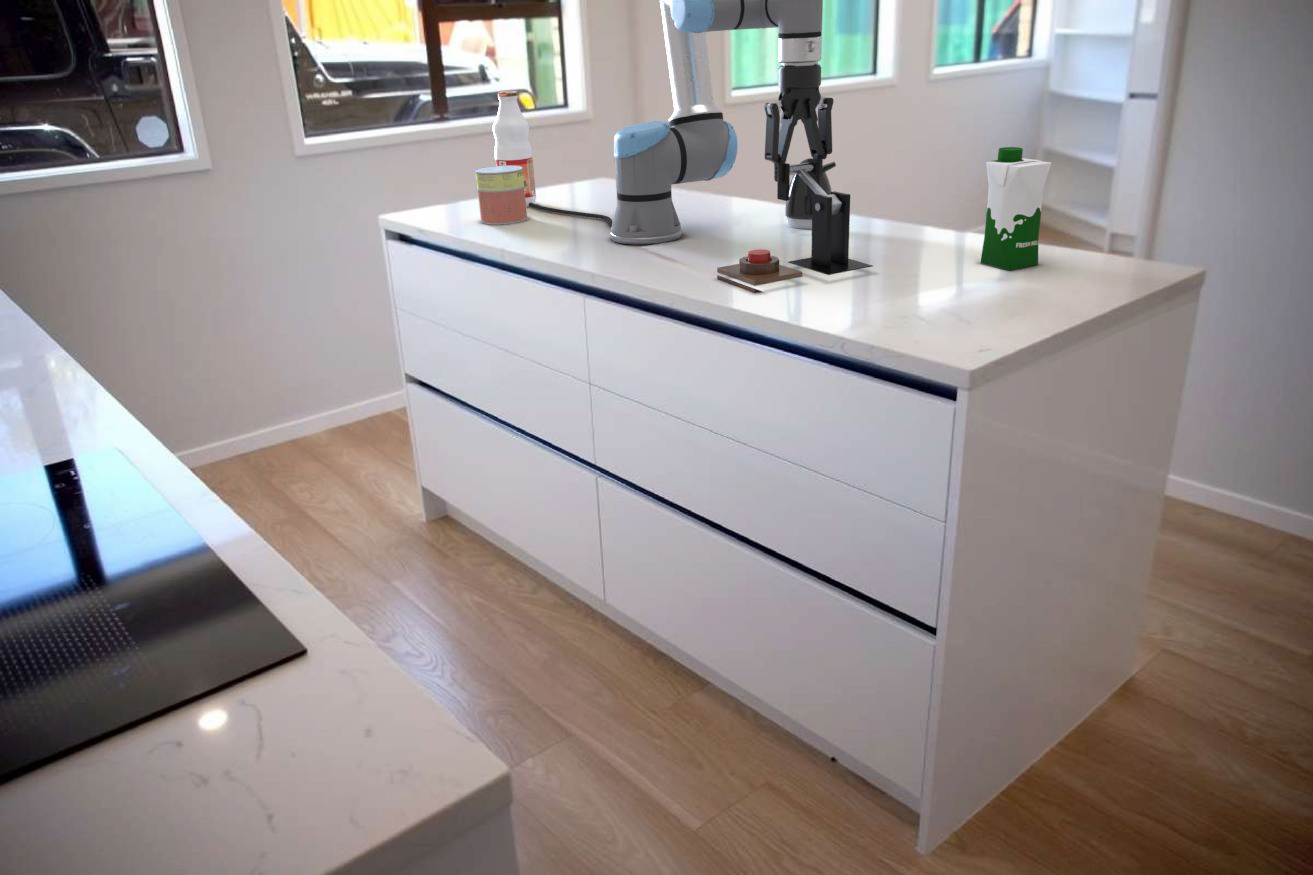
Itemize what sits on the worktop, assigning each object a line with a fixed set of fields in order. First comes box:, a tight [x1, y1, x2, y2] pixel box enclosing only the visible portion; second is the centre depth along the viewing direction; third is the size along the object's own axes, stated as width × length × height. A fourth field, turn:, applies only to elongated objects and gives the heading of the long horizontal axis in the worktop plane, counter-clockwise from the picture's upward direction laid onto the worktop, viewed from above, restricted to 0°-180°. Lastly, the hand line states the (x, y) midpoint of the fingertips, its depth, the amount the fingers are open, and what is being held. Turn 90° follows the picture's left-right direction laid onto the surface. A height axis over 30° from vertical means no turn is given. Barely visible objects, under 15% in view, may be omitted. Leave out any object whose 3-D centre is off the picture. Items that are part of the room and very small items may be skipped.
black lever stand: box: [787, 190, 874, 276], centre depth 178 cm, size 12×10×14 cm
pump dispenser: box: [784, 157, 837, 230], centre depth 210 cm, size 10×10×15 cm
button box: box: [716, 255, 803, 294], centre depth 175 cm, size 12×10×4 cm
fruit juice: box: [492, 90, 537, 208], centre depth 252 cm, size 9×9×28 cm
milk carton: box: [979, 146, 1052, 271], centre depth 176 cm, size 9×9×20 cm
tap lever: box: [790, 162, 842, 215], centre depth 179 cm, size 13×6×2 cm, turn 29°
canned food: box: [474, 165, 529, 226], centre depth 238 cm, size 11×11×12 cm
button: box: [747, 248, 772, 263], centre depth 174 cm, size 4×4×2 cm
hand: (798, 197), depth 184 cm, fingers closed on tap lever, 6 cm apart
